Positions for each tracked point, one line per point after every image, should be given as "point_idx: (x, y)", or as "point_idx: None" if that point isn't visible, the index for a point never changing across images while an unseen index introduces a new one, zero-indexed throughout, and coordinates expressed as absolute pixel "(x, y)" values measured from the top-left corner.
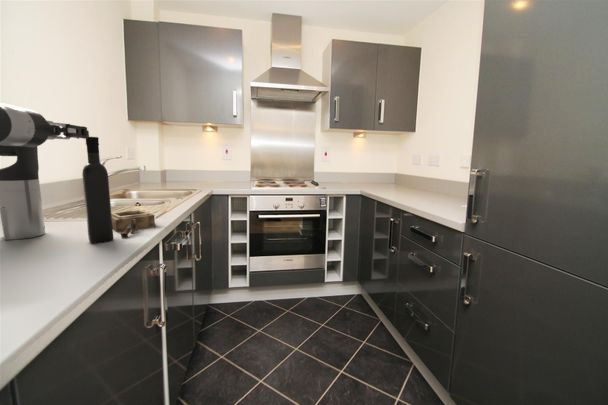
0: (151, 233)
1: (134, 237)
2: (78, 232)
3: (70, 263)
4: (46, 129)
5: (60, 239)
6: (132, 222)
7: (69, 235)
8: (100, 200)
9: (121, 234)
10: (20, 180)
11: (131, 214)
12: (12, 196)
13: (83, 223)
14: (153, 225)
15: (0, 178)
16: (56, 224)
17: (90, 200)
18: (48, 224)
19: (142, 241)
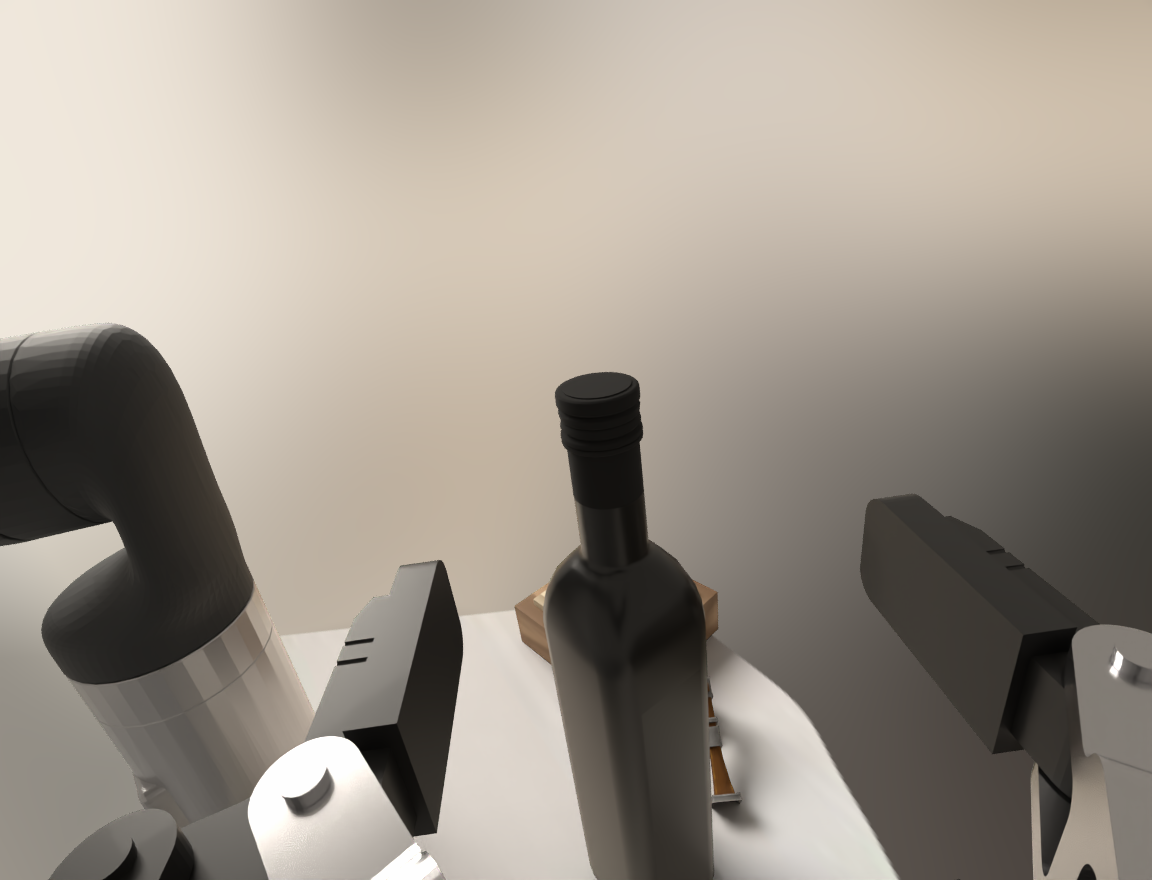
0: (793, 729)
1: (769, 800)
2: (467, 743)
3: None
4: None
5: (447, 861)
6: (708, 698)
7: (453, 791)
8: (683, 759)
9: (712, 799)
10: (187, 656)
11: None
12: (177, 740)
13: None
14: (714, 629)
15: (84, 677)
16: (330, 648)
17: (645, 788)
18: (302, 651)
19: (871, 870)
